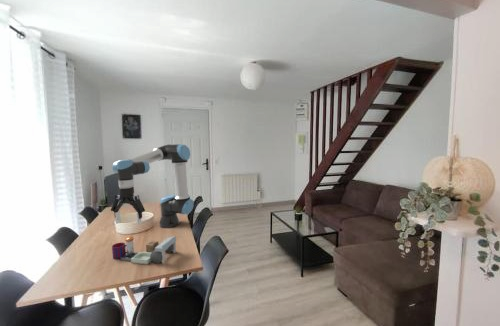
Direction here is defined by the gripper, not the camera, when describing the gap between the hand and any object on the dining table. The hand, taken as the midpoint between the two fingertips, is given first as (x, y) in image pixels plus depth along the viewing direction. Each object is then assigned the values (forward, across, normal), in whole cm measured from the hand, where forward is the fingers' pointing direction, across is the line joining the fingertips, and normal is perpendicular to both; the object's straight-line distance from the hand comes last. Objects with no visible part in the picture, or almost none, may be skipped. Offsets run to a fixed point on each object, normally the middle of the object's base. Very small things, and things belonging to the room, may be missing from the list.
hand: (128, 223), depth 131 cm
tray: (+21, +9, -1) cm, 23 cm away
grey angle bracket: (+21, +19, +4) cm, 28 cm away
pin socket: (+21, 0, 0) cm, 21 cm away
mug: (+21, -7, +1) cm, 22 cm away
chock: (+21, +7, +10) cm, 24 cm away
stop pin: (+21, 0, 0) cm, 21 cm away
